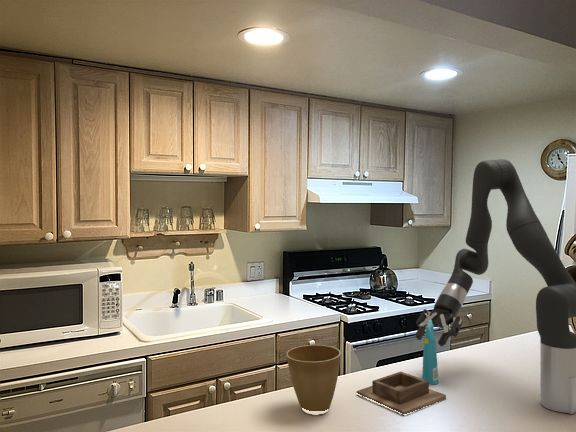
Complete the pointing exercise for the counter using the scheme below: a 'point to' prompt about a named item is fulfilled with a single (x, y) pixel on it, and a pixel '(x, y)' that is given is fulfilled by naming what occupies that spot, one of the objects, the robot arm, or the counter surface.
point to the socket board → (402, 392)
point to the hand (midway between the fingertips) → (428, 341)
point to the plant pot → (314, 375)
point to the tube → (430, 356)
